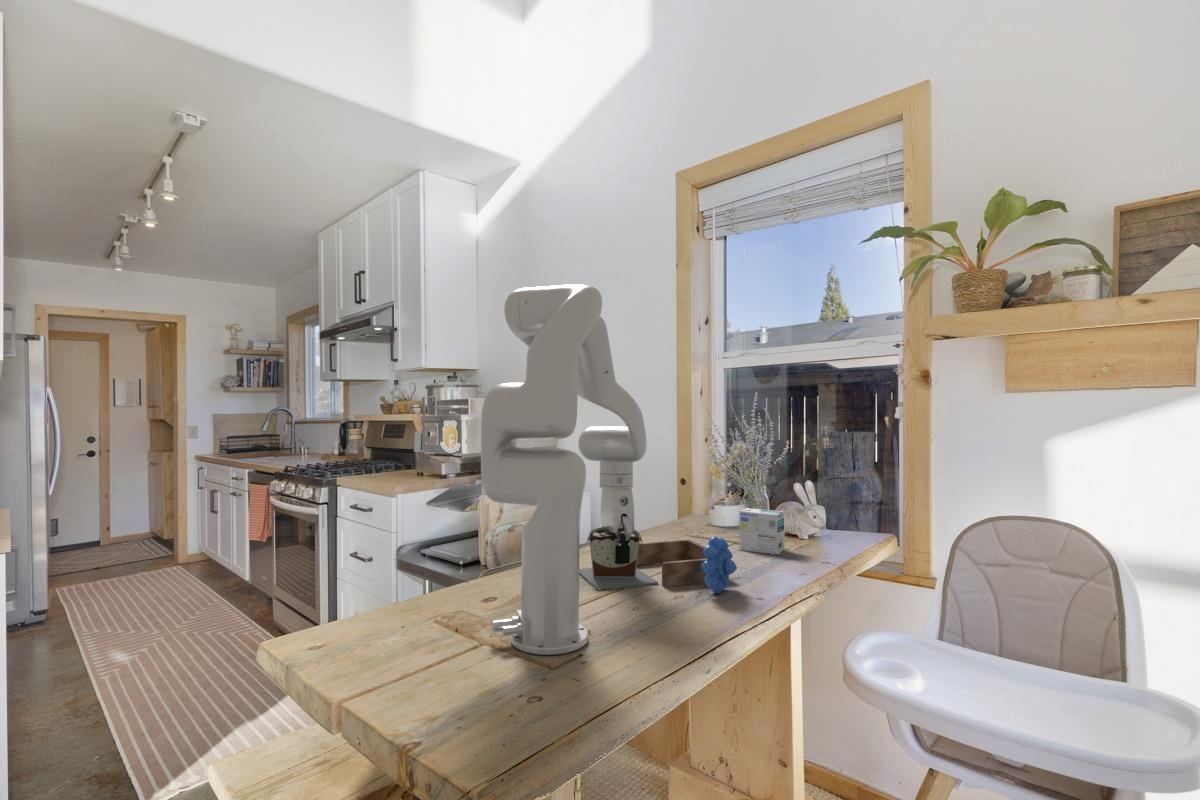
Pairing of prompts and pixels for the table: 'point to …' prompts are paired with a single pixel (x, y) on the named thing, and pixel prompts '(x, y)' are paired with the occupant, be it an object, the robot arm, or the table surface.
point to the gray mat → (617, 580)
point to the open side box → (675, 561)
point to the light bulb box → (761, 530)
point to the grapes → (717, 564)
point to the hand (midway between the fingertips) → (615, 558)
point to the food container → (611, 554)
